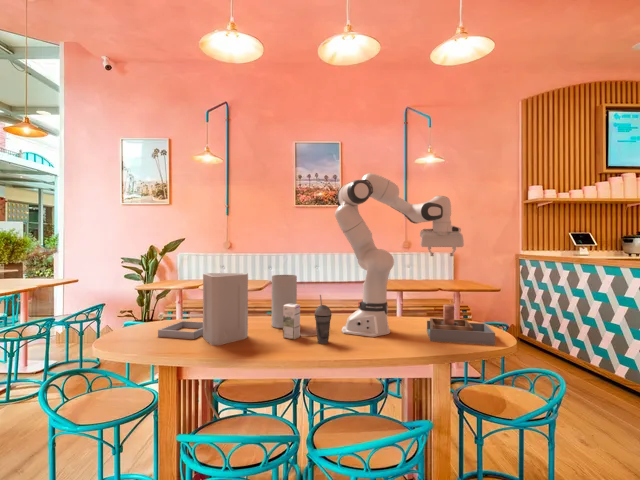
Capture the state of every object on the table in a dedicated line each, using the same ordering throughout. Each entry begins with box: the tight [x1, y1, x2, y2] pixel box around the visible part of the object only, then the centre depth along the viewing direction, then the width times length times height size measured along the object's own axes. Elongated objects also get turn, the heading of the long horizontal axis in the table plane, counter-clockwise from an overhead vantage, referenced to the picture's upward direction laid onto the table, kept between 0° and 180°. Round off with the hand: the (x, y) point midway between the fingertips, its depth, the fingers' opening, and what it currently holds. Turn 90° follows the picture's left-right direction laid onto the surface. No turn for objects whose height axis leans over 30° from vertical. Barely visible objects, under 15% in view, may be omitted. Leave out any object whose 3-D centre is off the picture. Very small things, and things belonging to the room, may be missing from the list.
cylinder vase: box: [271, 274, 298, 329], centre depth 173 cm, size 12×12×25 cm
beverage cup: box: [314, 294, 333, 345], centre depth 145 cm, size 7×7×20 cm
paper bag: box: [202, 272, 249, 346], centre depth 148 cm, size 19×15×28 cm
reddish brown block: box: [442, 304, 455, 325], centre depth 154 cm, size 4×4×12 cm
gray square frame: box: [157, 320, 203, 340], centre depth 159 cm, size 18×18×3 cm
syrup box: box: [282, 303, 301, 340], centre depth 152 cm, size 6×6×14 cm
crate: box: [429, 317, 473, 331], centre depth 154 cm, size 16×14×5 cm
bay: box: [426, 320, 496, 346], centre depth 153 cm, size 26×17×5 cm
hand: (441, 256), depth 172 cm, fingers open, 8 cm apart
